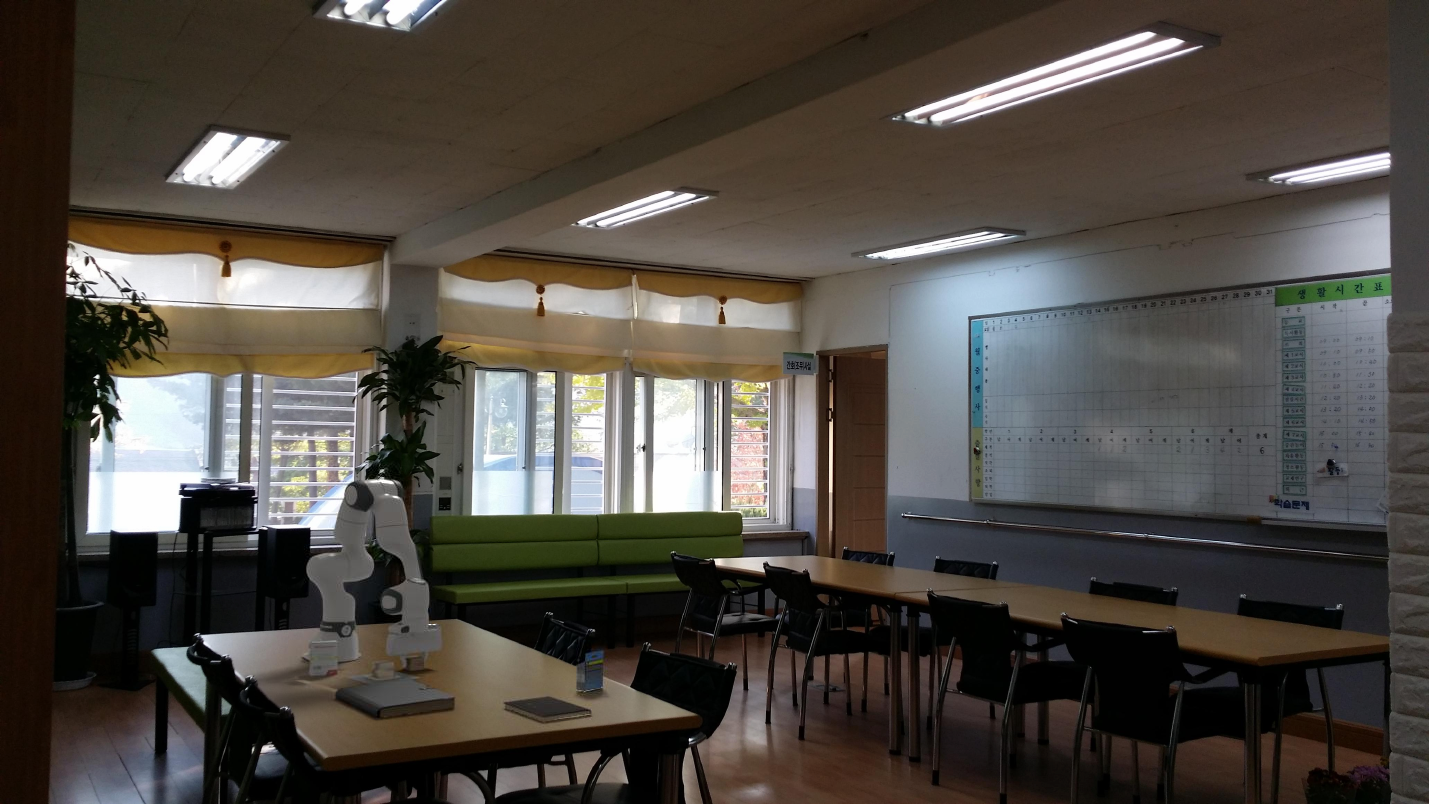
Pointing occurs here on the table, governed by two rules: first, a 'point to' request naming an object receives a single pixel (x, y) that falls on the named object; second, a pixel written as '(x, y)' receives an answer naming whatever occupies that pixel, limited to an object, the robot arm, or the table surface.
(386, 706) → the large dark grey book
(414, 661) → the walnut block
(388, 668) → the birch block
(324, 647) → the ink box
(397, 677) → the board
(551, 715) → the hardcover book
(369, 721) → the table surface
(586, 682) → the blue grey product box
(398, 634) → the robot arm
